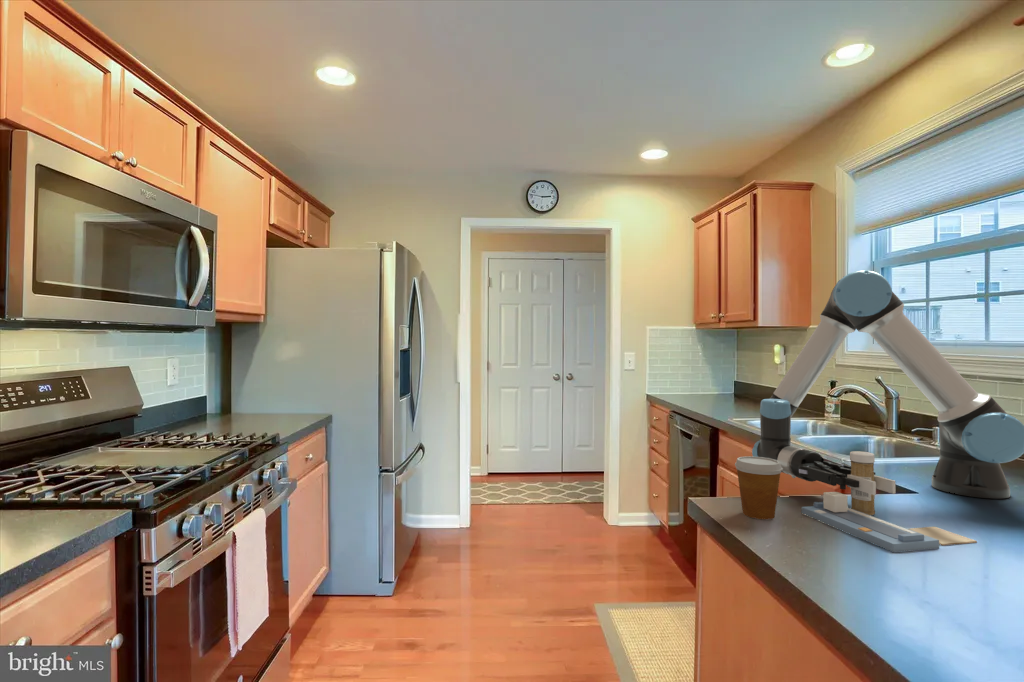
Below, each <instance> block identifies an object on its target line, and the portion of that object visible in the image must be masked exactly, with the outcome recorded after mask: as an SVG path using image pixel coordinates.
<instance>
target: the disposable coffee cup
mask: <svg viewBox="0 0 1024 682" xmlns="http://www.w3.org/2000/svg"><path fill="white" fill-rule="evenodd" d="M734 466H735V469H736V473H737V480H738V486H739V494H740V501H741V510H742V514H743V515H744V516H746V517H749V518H752V519H757V520H772V519H774V518H775V515H776V508H777V500H778V494H779V487H780V486H779V485H780V478H781V473H782V472H781V471H782V470H783V468H782V467H781V464H780V462H779V461H777V460H774V459H770V458H764V457H753V455H752V456H740V457H739V456H738V457H737V459H736V462H735V463H734Z"/></svg>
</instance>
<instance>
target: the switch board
mask: <svg viewBox="0 0 1024 682" xmlns="http://www.w3.org/2000/svg"><path fill="white" fill-rule="evenodd" d="M800 509H801V513H803V514H806V515H808V516H810V517H813V518H815V519H817V520H816V521H818V520H820V521H822V522H824V523H823V524H825V523H826V524H825V525H827V524H829V525H828V526H830V525H831V526H830V527H832V526H834V527H836V528H835V529H837V528H838V529H837V530H839V529H841V530H843V531H842V532H844V531H845V532H844V533H846V532H847V533H846V534H849V533H850V534H849V535H851V534H852V535H851V536H853V535H854V536H853V537H856V538H858V537H859V538H858V539H860V538H861V539H860V540H863V541H865V540H866V542H868V541H869V542H868V543H870V542H871V544H872V543H874V544H873V545H875V544H876V545H875V546H877V545H878V546H877V547H879V546H880V547H879V548H882V547H883V548H882V549H884V548H885V549H884V550H887V551H889V550H890V551H889V552H891V551H892V553H903V551H904V552H913V551H914V550H916V551H924V550H925V551H926V550H934V549H935V550H936V549H937V548H938V549H940V544H939V540H937V539H934V538H932V537H929V536H926V535H924V534H921V533H918V532H915V531H912V530H909V528H906V527H903V526H901V525H898V524H895V523H893V522H890V521H887V520H885V519H882V518H879V517H875V516H873V515H868V514H865V513H862V512H860V511H857V510H854V509H851V507H848V512H832V511H830V510H827V509H824V504H823V501H813V505H812V506H811V505H810V506H801V508H800ZM803 514H802V515H803ZM806 515H805V516H806ZM808 516H807V517H808ZM810 517H809V518H810ZM813 518H812V519H813ZM815 519H814V520H815ZM820 521H819V522H820ZM822 522H821V523H822ZM834 527H833V528H834ZM841 530H840V531H841ZM901 551H902V552H901Z"/></svg>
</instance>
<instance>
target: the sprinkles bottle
mask: <svg viewBox="0 0 1024 682" xmlns="http://www.w3.org/2000/svg"><path fill="white" fill-rule="evenodd" d="M849 461H850V466H851V475H853V476H857V477H860V478H864V479H867V480H871V481H874V471H875V469H874V465H875V462H876V459H875V453H872V452H867V451H859V450H858V451H857V450H856V451H855V450H854V451H850V452H849ZM850 497H851V498H850V499H851V507H850V508H851V509H854V510H857V511H860V512H862V513H865V514H868V515H871V516H873V515H875V514H876V510H875V499H876V498H875V497H876V496H875V495H872V494H869V493H866V492H862V491H859V490H856V489H853V488H850Z"/></svg>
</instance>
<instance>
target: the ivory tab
mask: <svg viewBox="0 0 1024 682" xmlns="http://www.w3.org/2000/svg"><path fill="white" fill-rule="evenodd" d="M822 498H823V501H822V502H823V504H824V509H827V510H830V511H832V512H848V508H849V507H848V495H847V494H844V493H841V492H838V491H828V492H827V491H826V492H823V496H822Z"/></svg>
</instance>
